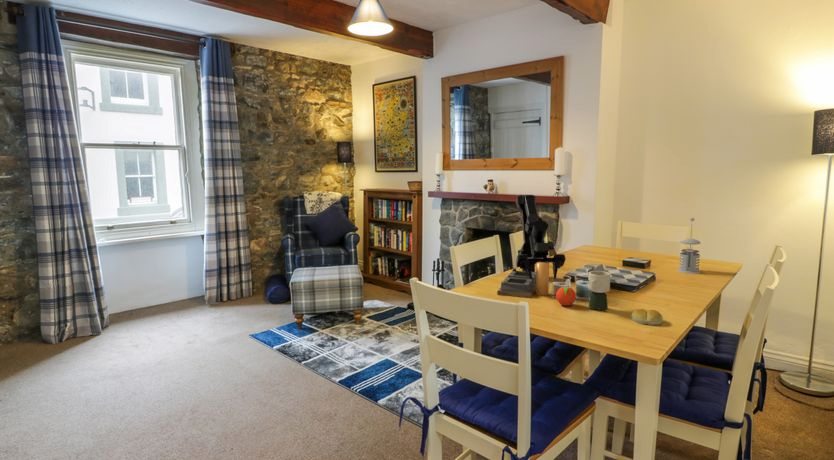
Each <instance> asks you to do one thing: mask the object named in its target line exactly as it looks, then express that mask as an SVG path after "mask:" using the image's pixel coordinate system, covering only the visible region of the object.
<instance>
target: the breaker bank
mask: <svg viewBox="0 0 834 460" xmlns="http://www.w3.org/2000/svg"><path fill="white" fill-rule="evenodd" d="M531 273H532V279H530V278H529V276H528V275H527V273H526V272H525V271H522V270H517V268H512V270H511V271H510V273H509V274H508V275H507V276H506V277H505V278H504V279H501V282H500V286H499V287H500V288H499V289H498V290H497V293H496V294H497V296H498V295H499V296H507V297H520V298H530V299H531V298H532V296H533V295H534V293H535V292H536V271H535V272H531Z"/></svg>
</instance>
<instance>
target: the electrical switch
mask: <svg viewBox="0 0 834 460" xmlns="http://www.w3.org/2000/svg"><path fill="white" fill-rule="evenodd" d="M590 271H605V267H604V265H603V264H602V263H601V264H598V265H596V266H593V267H592V268H590V269H588V270H587V273H588V275H589V272H590Z"/></svg>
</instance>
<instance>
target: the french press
mask: <svg viewBox="0 0 834 460" xmlns="http://www.w3.org/2000/svg"><path fill="white" fill-rule="evenodd" d="M689 221H691V222H693V221H695V218H694V217H690V218H689ZM690 228H691V229H690V236H692V233H693V232H692V231H693V225H691V227H690ZM680 243H681V244H682V245H683V244H685V245H689V246H690V247H687V249H686V248H685V249H683V248H682V249H681V252H680V253H679V256H680V257H679V267H678V268H677V269H676V271H677V272H679V273H683V274H692V275H693V274H695V275H696V274H701V273H702V272H701V270H700V267H699V266H700V259H701V255H700V253H699V252H700V251H699V250H698V249H697V250H696V249H694V248H693V247H694V246H693V245H701V244H702V242H701V241H700V240H698V239H695V238H692V237H690V238H685V239H682V240H680Z"/></svg>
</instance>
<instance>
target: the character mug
mask: <svg viewBox="0 0 834 460" xmlns="http://www.w3.org/2000/svg"><path fill="white" fill-rule="evenodd" d="M587 279H588V285H587V288H588V290H589V291H591V293H590V297H589V302H588V303H589V304H588V308H590V309H595V310H596V311H598V310H607V309H608V308H609V306H608V305H609V304H608V297H607V293H609V292H610V290H611V273H610V272H608V271H605V270H604V271H590V272H589V274H588V277H587Z"/></svg>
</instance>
